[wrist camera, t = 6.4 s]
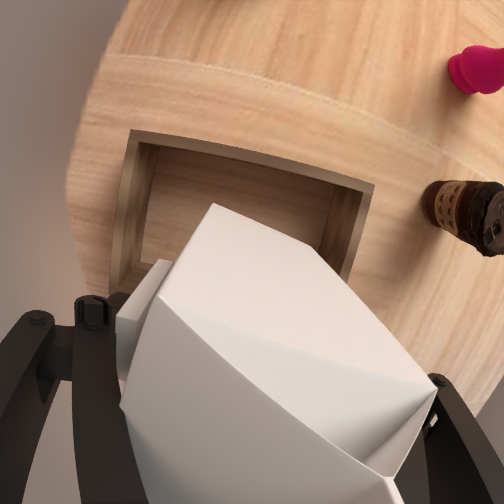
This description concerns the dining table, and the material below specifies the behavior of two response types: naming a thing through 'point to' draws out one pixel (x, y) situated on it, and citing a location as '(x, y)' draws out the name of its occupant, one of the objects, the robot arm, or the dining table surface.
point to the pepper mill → (478, 69)
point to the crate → (147, 143)
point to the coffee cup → (468, 212)
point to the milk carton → (267, 379)
